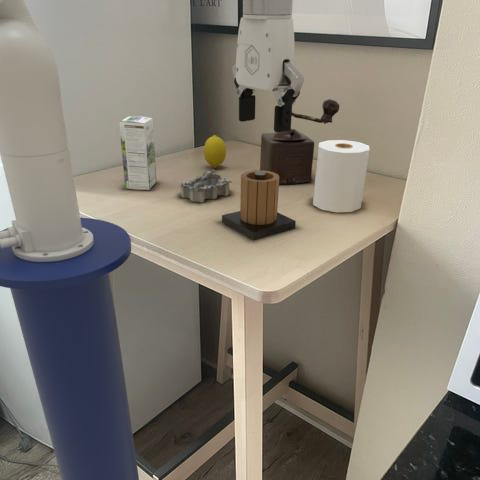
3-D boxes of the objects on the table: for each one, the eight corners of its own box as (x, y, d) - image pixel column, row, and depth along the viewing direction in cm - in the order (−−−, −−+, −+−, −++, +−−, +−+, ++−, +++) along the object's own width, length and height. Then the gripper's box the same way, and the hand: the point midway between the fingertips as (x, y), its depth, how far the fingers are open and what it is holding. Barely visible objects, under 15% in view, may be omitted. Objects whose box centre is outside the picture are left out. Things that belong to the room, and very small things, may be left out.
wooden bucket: (255, 227, 90) (256, 184, 85) (233, 216, 94) (233, 174, 90) (283, 219, 93) (286, 177, 89) (261, 209, 98) (263, 168, 93)
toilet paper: (344, 194, 111) (352, 137, 104) (370, 209, 103) (380, 150, 96) (303, 198, 108) (309, 141, 101) (327, 215, 100) (335, 154, 93)
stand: (253, 240, 89) (255, 185, 83) (221, 222, 96) (221, 170, 90) (295, 228, 94) (299, 175, 88) (262, 212, 101) (264, 162, 95)
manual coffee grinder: (269, 186, 114) (274, 102, 105) (258, 172, 124) (261, 93, 114) (333, 182, 117) (343, 100, 107) (317, 169, 126) (325, 92, 117)
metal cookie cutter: (215, 186, 114) (215, 168, 112) (235, 195, 109) (235, 176, 107) (175, 194, 108) (174, 176, 106) (194, 204, 103) (194, 185, 101)
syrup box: (133, 181, 116) (126, 115, 108) (157, 183, 115) (152, 116, 107) (125, 189, 111) (117, 120, 103) (150, 191, 110) (145, 122, 102)
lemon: (201, 165, 127) (200, 133, 123) (221, 163, 129) (221, 131, 125) (208, 172, 123) (208, 138, 118) (229, 169, 125) (229, 136, 120)
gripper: (215, 6, 79) (217, 119, 89) (285, 9, 68) (279, 138, 77) (252, 6, 83) (251, 114, 93) (325, 8, 71) (314, 132, 81)
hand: (263, 125), depth 85 cm, fingers open, 9 cm apart
